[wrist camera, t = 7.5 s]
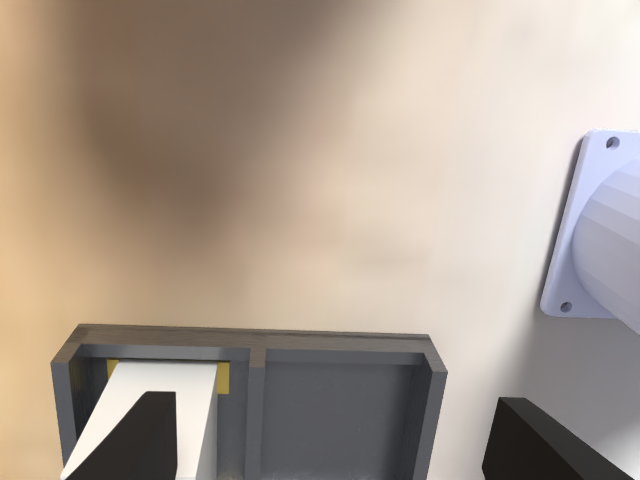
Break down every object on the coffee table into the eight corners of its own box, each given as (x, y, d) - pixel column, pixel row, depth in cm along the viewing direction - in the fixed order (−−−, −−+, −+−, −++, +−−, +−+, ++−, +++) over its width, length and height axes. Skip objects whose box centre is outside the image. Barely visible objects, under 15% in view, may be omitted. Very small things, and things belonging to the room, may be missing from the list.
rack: (428, 334, 22) (449, 375, 19) (394, 522, 26) (408, 577, 23) (79, 323, 21) (48, 366, 18) (99, 524, 24) (76, 583, 22)
